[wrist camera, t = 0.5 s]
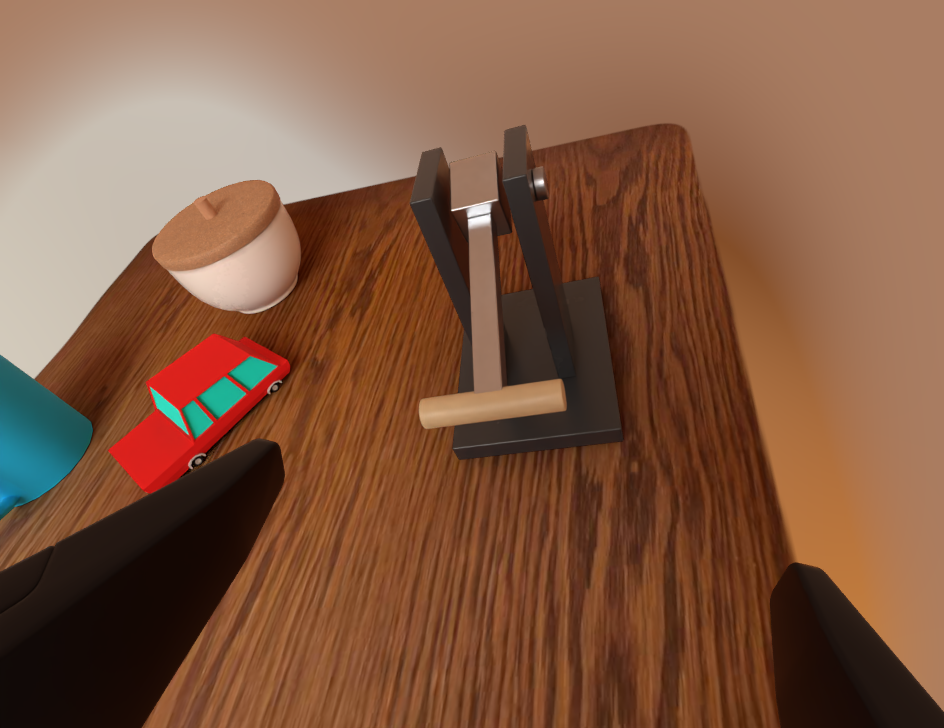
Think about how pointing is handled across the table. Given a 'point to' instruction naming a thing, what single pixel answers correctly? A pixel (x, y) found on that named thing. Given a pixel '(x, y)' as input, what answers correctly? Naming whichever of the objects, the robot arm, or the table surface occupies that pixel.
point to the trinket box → (233, 248)
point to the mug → (35, 438)
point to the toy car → (197, 407)
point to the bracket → (526, 315)
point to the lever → (486, 307)
